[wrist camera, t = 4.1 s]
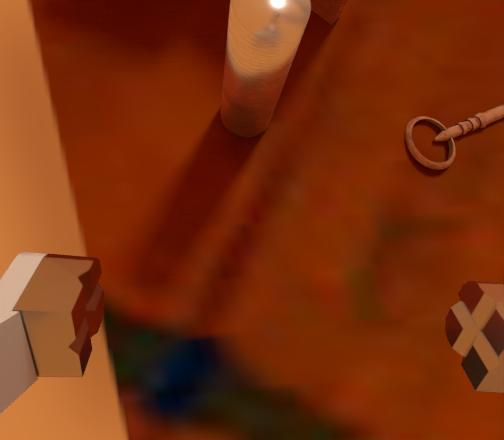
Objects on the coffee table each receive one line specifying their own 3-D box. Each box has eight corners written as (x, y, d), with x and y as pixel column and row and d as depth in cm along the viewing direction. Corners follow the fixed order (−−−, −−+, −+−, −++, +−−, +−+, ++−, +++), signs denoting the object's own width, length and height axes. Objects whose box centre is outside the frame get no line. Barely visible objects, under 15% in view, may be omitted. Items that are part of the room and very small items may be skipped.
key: (549, 37, 31) (378, 105, 28) (559, 29, 30) (384, 97, 27) (596, 102, 30) (422, 179, 27) (608, 95, 29) (429, 174, 26)
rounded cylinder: (281, 117, 26) (327, 10, 17) (243, 147, 26) (268, 54, 16) (247, 80, 27) (273, -46, 17) (209, 110, 26) (213, -5, 16)
